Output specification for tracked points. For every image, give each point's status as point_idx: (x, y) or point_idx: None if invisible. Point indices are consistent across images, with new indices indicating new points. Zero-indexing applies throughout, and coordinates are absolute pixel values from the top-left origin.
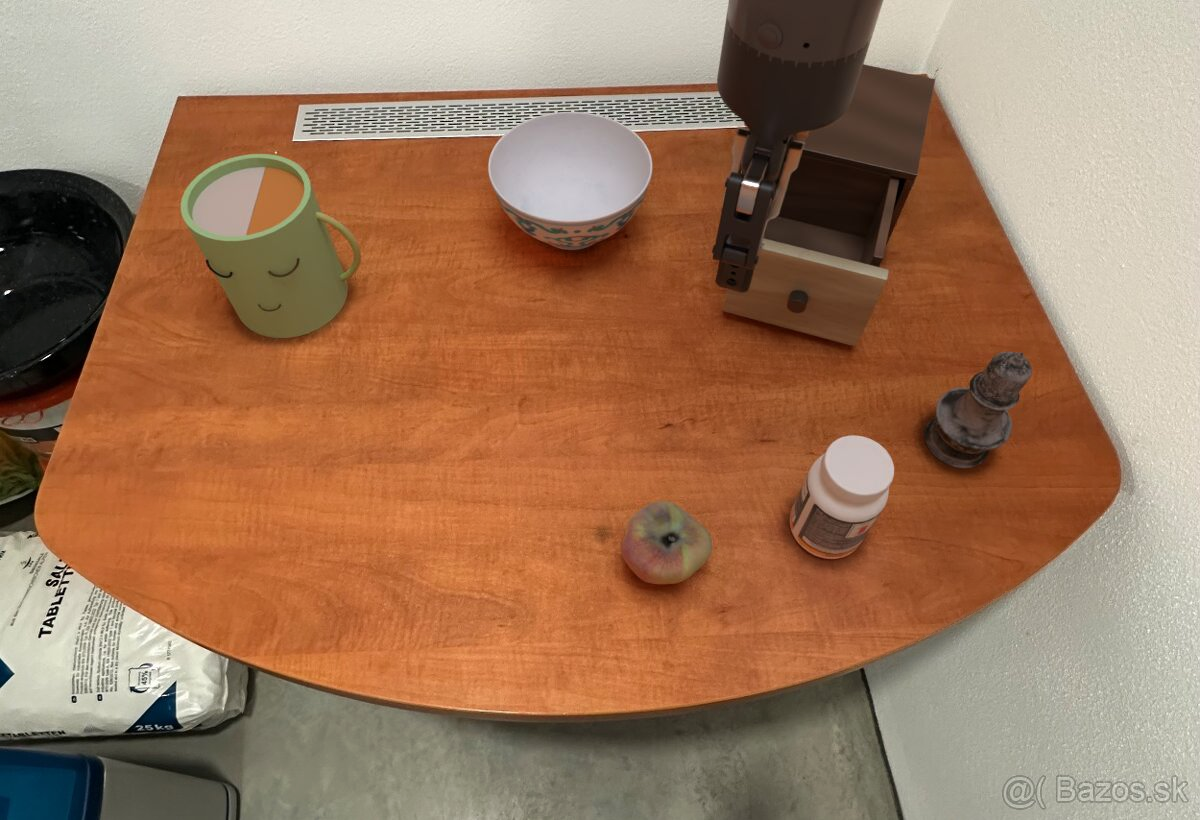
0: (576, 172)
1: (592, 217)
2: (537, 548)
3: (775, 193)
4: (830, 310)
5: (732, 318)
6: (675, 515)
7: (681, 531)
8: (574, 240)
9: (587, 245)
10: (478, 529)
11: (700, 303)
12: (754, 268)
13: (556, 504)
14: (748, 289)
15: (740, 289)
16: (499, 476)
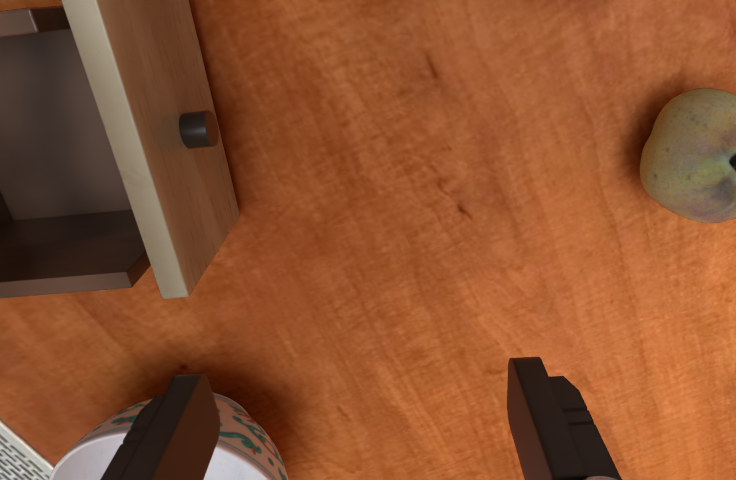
0: None
1: None
2: (690, 282)
3: (191, 412)
4: (174, 62)
5: (236, 193)
6: (712, 172)
7: (731, 153)
8: (271, 446)
9: (230, 401)
10: (678, 345)
11: (235, 244)
12: (528, 400)
13: (624, 286)
14: (540, 359)
15: (573, 387)
16: (603, 353)
